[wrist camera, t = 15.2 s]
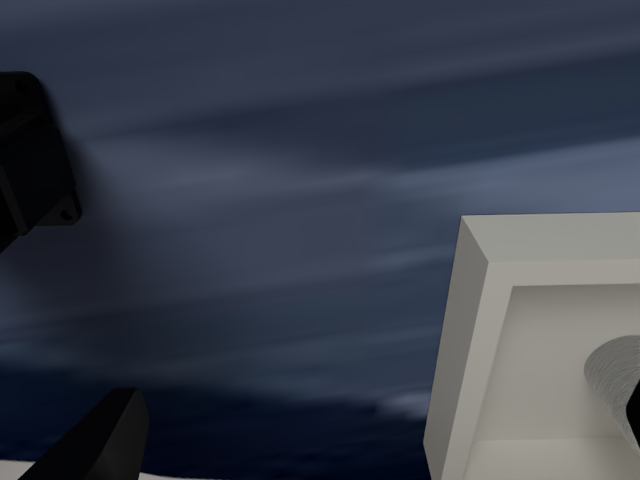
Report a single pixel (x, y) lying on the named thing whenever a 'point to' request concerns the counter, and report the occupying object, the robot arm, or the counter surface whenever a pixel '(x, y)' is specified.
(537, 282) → the tray
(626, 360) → the metal pin
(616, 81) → the counter surface
